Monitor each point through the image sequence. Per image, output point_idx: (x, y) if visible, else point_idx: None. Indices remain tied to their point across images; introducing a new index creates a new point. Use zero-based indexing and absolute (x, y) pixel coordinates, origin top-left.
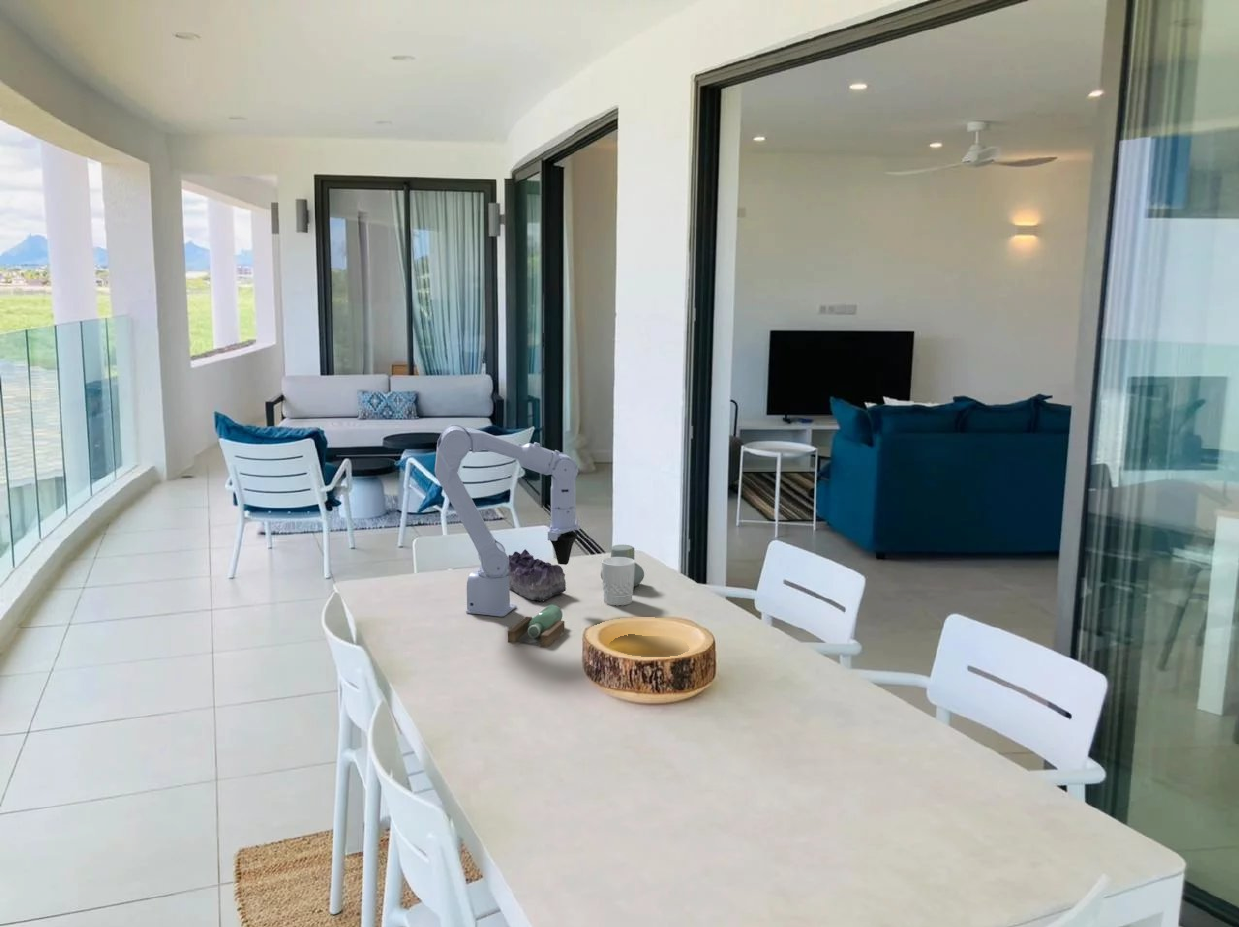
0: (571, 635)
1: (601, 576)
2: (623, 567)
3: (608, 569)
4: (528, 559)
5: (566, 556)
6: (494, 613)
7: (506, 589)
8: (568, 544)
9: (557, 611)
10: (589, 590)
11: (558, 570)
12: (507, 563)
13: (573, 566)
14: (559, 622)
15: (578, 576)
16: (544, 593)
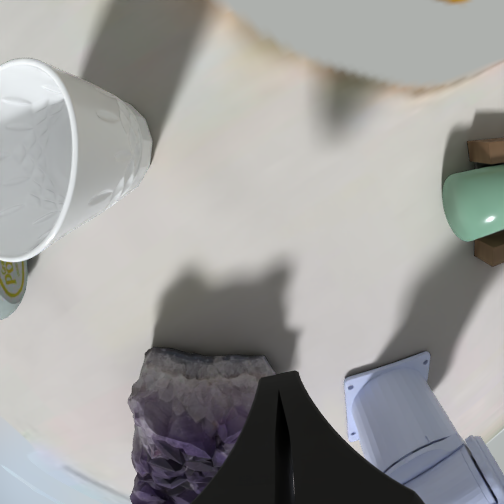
0: (475, 111)
1: (20, 301)
2: (56, 69)
3: (93, 153)
4: (156, 490)
5: (315, 407)
6: (424, 373)
7: (422, 408)
8: (379, 472)
9: (489, 180)
10: (78, 300)
11: (157, 410)
12: (489, 454)
13: (14, 402)
14: (500, 150)
15: (35, 373)
16: (256, 370)
